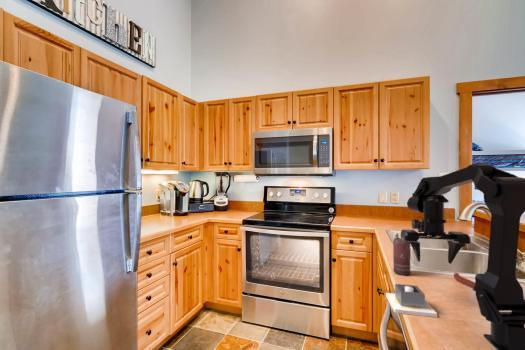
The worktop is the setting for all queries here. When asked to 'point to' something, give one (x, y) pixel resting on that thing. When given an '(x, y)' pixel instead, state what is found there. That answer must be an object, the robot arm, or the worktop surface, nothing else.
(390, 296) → the post base
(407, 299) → the grey hollow square box
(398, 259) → the can
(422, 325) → the worktop surface
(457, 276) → the pliers
